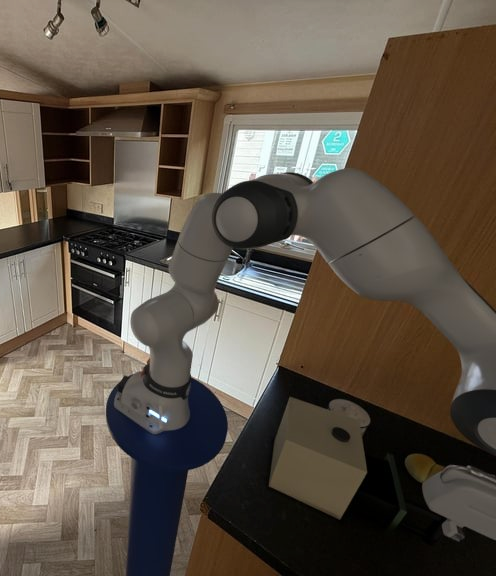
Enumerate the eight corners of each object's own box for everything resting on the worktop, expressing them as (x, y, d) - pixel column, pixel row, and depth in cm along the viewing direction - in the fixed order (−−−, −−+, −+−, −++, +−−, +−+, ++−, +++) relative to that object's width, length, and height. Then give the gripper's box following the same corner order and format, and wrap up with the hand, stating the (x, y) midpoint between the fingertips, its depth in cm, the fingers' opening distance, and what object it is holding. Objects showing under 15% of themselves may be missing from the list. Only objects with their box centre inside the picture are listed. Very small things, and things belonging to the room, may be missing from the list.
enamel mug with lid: (358, 457, 79) (375, 425, 74) (317, 438, 84) (330, 407, 79) (358, 425, 88) (374, 394, 83) (321, 410, 93) (333, 380, 88)
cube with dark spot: (336, 465, 77) (360, 417, 70) (339, 519, 66) (369, 469, 59) (274, 440, 84) (290, 394, 76) (268, 486, 73) (286, 437, 65)
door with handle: (417, 496, 70) (438, 467, 65) (436, 560, 59) (462, 531, 55) (309, 452, 79) (321, 425, 75) (308, 500, 69) (322, 472, 64)
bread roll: (412, 453, 80) (419, 443, 78) (459, 485, 73) (468, 474, 71) (395, 467, 77) (402, 456, 75) (442, 501, 70) (451, 491, 68)
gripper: (462, 481, 39) (404, 530, 46) (746, 601, 30) (619, 638, 37) (448, 441, 43) (397, 491, 51) (691, 534, 35) (587, 579, 42)
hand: (493, 554), depth 44 cm, fingers open, 8 cm apart
